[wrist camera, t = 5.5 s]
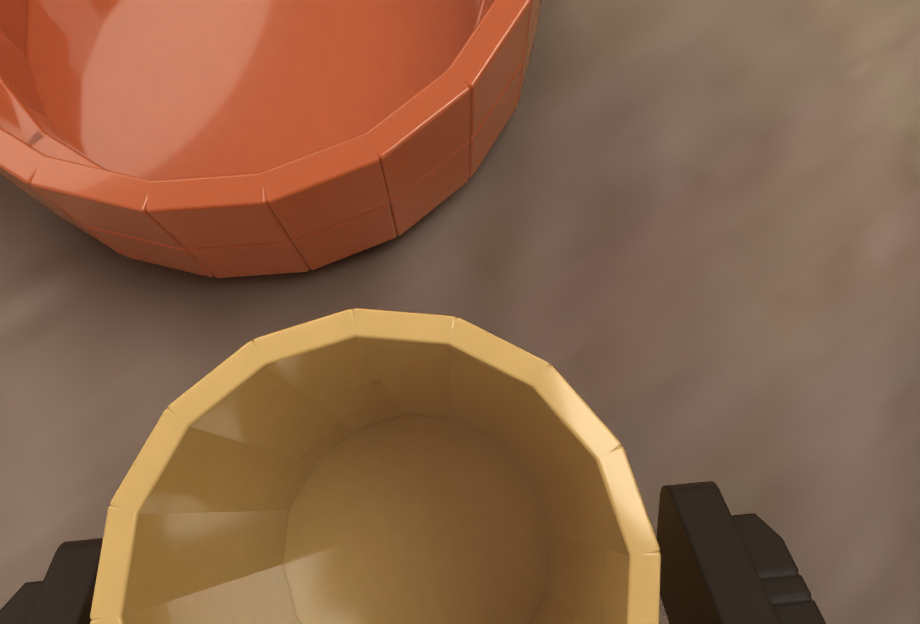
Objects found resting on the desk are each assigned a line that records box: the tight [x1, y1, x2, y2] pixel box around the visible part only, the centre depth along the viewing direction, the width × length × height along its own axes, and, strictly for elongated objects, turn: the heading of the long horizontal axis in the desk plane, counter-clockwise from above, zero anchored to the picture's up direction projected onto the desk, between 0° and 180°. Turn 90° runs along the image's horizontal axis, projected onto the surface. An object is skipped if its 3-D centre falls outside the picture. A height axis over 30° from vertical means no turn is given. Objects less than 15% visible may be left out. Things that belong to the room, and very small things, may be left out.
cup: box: [90, 308, 661, 624], centre depth 14 cm, size 6×6×9 cm
